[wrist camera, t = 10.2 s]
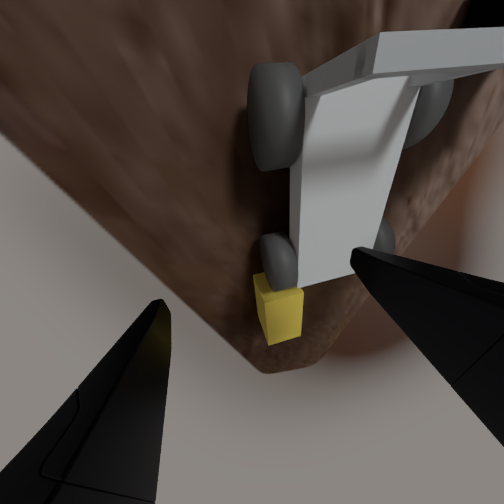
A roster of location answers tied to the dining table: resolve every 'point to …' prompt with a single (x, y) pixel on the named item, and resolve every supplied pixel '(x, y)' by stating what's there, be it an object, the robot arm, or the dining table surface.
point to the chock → (278, 310)
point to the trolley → (352, 139)
